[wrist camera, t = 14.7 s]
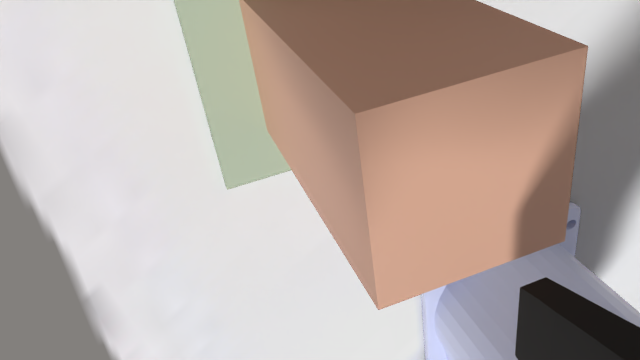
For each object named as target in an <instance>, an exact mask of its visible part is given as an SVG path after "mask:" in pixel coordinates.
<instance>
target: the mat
mask: <svg viewBox="0 0 640 360" xmlns="http://www.w3.org/2000/svg"><path fill="white" fill-rule="evenodd" d="M174 3H175V6H176V10H177V13H178V17H179V20H180V24H181V28H182V31H183V35H184V38H185V42H186V45H187V49H188V53H189V56H190V60H191V63H192V67H193V71H194V74H195V78H196V81H197V85H198V88H199V92H200V96H201V99H202V103H203V106H204V110H205V113H206V117H207V121H208V124H209V128H210V131H211V135H212V138H213V142H214V146H215V149H216V153H217V156H218V160H219V164H220V167H221V171H222V174H223V178H224V181H225V185H226V188H227V190H228V189H231V188H235V187H238V186H241V185H244V184H248V183H251V182H254V181H257V180H261V179H264V178H267V177H270V176H274V175H277V174H280V173H284V172H287V171H290V170H291V168H290V166H289V165H288V163H287V162H286V160H285V158H284V157H283V155H282V154H281V152H280V150H279V149H278V147H277V145H276V144H275V142H274V141H273V139H272V137H271V136H270V134H269V133H268V131H267V127H266V123H265V118H264V113H263V109H262V104H261V100H260V95H259V90H258V86H257V81H256V77H255V72H254V67H253V63H252V58H251V54H250V49H249V44H248V40H247V35H246V30H245V26H244V21H243V17H242V12H241V7H240V3H239V0H174Z"/></svg>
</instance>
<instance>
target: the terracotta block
mask: <svg viewBox="0 0 640 360" xmlns="http://www.w3.org/2000/svg"><path fill="white" fill-rule="evenodd" d="M239 3H240V7H241V12H242V17H243V21H244V26H245V30H246V35H247V40H248V44H249V49H250V54H251V58H252V63H253V67H254V72H255V77H256V81H257V86H258V90H259V95H260V100H261V104H262V109H263V113H264V118H265V123H266V127H267V131H268V133H269V134H270V136H271V137H272V139H273V141H274V142H275V144H276V145H277V147H278V149H279V150H280V152H281V154H282V155H283V157H284V158H285V160H286V162H287V163H288V165H289V166H290V168H291V170H292V171H293V173H294V175H295V176H296V178H297V179H298V181H299V183H300V184H301V186H302V187H303V189H304V191H305V192H306V194H307V196H308V197H309V199H310V200H311V202H312V204H313V205H314V207H315V208H316V210H317V212H318V213H319V215H320V217H321V218H322V220H323V221H324V223H325V225H326V226H327V228H328V229H329V231H330V233H331V234H332V236H333V237H334V239H335V241H336V242H337V244H338V246H339V247H340V249H341V250H342V252H343V254H344V255H345V257H346V258H347V260H348V262H349V263H350V265H351V267H352V268H353V270H354V271H355V273H356V275H357V276H358V278H359V279H360V281H361V283H362V284H363V286H364V288H365V289H366V291H367V292H368V294H369V296H370V297H371V299H372V300H373V302H374V304H375V305H376V307H377V308H378V310H380V309H383V308H385V307H388V306H391V305H393V304H396V303H399V302H401V301H404V300H407V299H410V298H412V297H415V296H418V295H420V294H423V293H426V292H429V291H431V290H434V289H437V288H439V287H442V286H445V285H447V284H450V283H453V282H456V281H458V280H461V279H464V278H466V277H469V276H472V275H474V274H477V273H480V272H483V271H485V270H488V269H491V268H493V267H496V266H499V265H501V264H504V263H507V262H510V261H512V260H515V259H518V258H520V257H523V256H526V255H528V254H531V253H534V252H537V251H539V250H542V249H545V248H547V247H550V246H553V245H555V244H558V243H561V242H564V241H565V236H566V228H567V219H568V211H569V202H570V194H571V186H572V177H573V169H574V160H575V152H576V143H577V135H578V127H579V118H580V110H581V101H582V93H583V85H584V76H585V68H586V59H587V51H588V46H587V45H584V44H582V43H579V42H577V41H574V40H572V39H569V38H567V37H564V36H562V35H560V34H557V33H555V32H552V31H550V30H547V29H545V28H542V27H540V26H537V25H535V24H533V23H530V22H528V21H525V20H523V19H520V18H518V17H515V16H513V15H510V14H508V13H505V12H503V11H501V10H498V9H496V8H493V7H491V6H488V5H486V4H483V3H481V2H478V1H476V0H239Z"/></svg>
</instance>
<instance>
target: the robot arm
mask: <svg viewBox="0 0 640 360" xmlns="http://www.w3.org/2000/svg"><path fill="white" fill-rule="evenodd" d="M580 214H581V209H580V207H579V206H577V205H576V204H575V203H572V202H571V203H569V211H568V219H567V228H566V236H565V241H564V242H561V243H558V244H555V245H553V246H550V247H547V248H545V249H542V250H539V251H537V252H534V253H531V254H528V255H526V256H523V257H520V258H518V259H515V260H512V261H510V262H507V263H504V264H501V265H499V266H496V267H493V268H491V269H488V270H485V271H483V272H480V273H477V274H474V275H472V276H469V277H466V278H464V279H461V280H458V281H456V282H453V283H450V284H447V285H445V286H442V287H439V288H437V289H434V290H431V291H429V292H426V293H423V294H421V301H422V317H423V332H424V348H425V360H640V313H639V312H638V311H637V310H636V309H635V308H633V307H632V306H631V305H630V304H629V303H628V302H626V301H625V300H624V299H623V298H622V297H621V296H619V295H618V294H617V293H616V292H615V291H614V290H612V289H611V288H610V287H609V286H608V285H607V284H605V283H604V282H603V281H602V280H601V279H599V278H598V277H597V276H596V275H595V274H594V273H592V272H591V271H590V270H589V269H588V268H587V267H585V266H584V265H583V264H582V263H581V262H580V261H578V260H577V259H576V258H575V252H576V245H577V237H578V230H579V222H580Z"/></svg>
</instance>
